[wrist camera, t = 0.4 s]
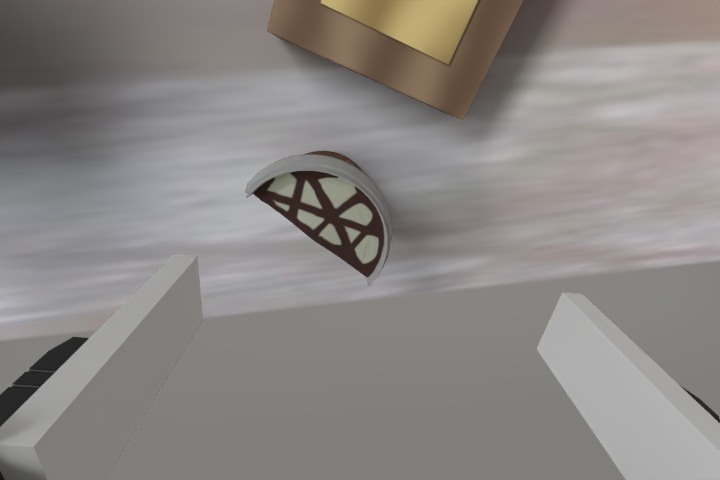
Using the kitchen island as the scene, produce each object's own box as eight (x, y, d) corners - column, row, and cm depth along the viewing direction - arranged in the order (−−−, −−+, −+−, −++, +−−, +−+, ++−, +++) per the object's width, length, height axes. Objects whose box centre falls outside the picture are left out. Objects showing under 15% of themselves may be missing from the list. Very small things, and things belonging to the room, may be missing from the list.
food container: (409, 193, 34) (430, 236, 25) (368, 236, 36) (374, 290, 27) (310, 107, 30) (292, 119, 21) (270, 160, 32) (239, 192, 23)
